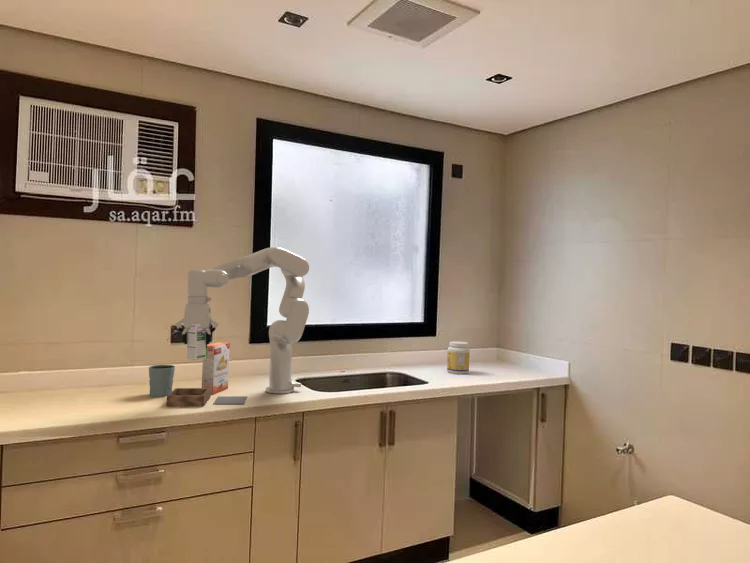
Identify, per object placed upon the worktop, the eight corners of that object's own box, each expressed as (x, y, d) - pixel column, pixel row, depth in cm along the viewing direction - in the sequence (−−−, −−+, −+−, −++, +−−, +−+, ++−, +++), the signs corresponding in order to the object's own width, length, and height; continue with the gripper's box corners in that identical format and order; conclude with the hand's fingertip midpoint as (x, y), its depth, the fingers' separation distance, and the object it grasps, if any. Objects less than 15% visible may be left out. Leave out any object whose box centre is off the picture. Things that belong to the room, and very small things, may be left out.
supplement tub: (444, 370, 295) (445, 340, 295) (465, 370, 297) (466, 341, 296) (449, 374, 283) (450, 343, 283) (471, 374, 284) (472, 344, 284)
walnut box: (210, 397, 216) (210, 388, 216) (203, 406, 202) (204, 396, 202) (175, 397, 214) (175, 388, 214) (166, 406, 200) (166, 396, 200)
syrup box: (195, 360, 205) (196, 323, 204) (186, 358, 208) (186, 322, 208) (207, 358, 209) (208, 322, 209) (198, 356, 213) (198, 321, 212)
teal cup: (142, 396, 216) (143, 367, 215) (160, 391, 225) (161, 363, 225) (162, 398, 212) (162, 369, 212) (179, 393, 222) (180, 365, 221)
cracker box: (213, 395, 221) (214, 346, 221) (200, 394, 222) (202, 345, 222) (229, 388, 235) (230, 342, 234) (217, 387, 236) (218, 341, 236)
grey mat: (247, 397, 219) (247, 396, 219) (244, 404, 207) (244, 403, 207) (218, 397, 217) (218, 396, 217) (213, 404, 205) (213, 403, 205)
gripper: (221, 300, 213) (221, 342, 213) (177, 299, 211) (177, 342, 211) (218, 301, 206) (217, 345, 206) (172, 300, 203) (172, 345, 204)
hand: (197, 343), depth 209 cm, fingers closed on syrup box, 8 cm apart
